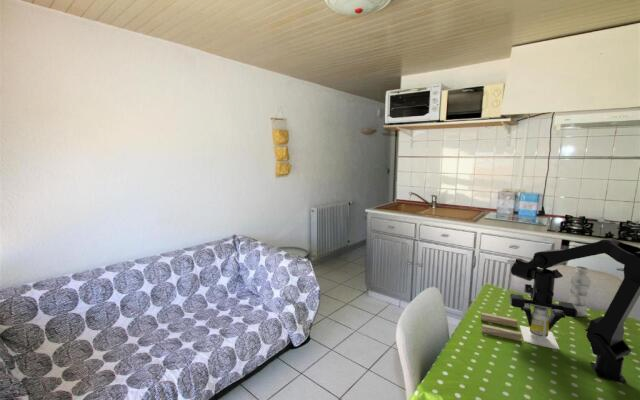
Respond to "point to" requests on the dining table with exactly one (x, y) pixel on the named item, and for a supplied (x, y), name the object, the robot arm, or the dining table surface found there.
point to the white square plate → (538, 338)
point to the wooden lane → (500, 331)
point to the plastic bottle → (579, 290)
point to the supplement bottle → (539, 322)
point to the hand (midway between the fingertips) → (539, 327)
